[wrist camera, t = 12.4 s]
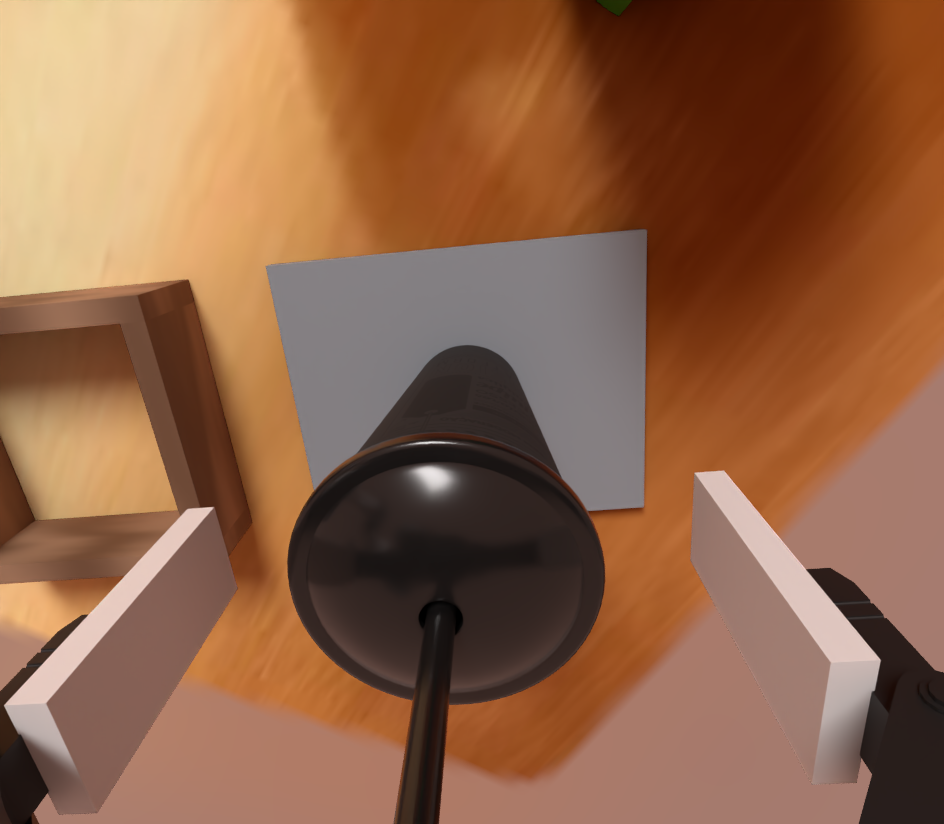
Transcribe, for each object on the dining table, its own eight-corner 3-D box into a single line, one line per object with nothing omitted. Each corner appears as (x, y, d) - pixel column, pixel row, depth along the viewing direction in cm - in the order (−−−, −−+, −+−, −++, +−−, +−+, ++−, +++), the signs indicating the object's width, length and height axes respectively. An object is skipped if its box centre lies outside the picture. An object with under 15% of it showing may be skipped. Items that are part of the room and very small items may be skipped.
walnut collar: (23, 538, 31) (-41, 586, 27) (-77, 304, 27) (-170, 324, 23) (251, 522, 30) (218, 570, 26) (188, 279, 26) (137, 295, 22)
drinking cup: (352, 410, 27) (44, 897, 9) (450, 277, 25) (320, 546, 6) (483, 499, 29) (464, 1083, 10) (586, 382, 26) (815, 855, 8)
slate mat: (325, 522, 30) (322, 529, 30) (270, 264, 25) (265, 266, 25) (641, 501, 29) (643, 507, 29) (643, 229, 25) (647, 229, 24)
